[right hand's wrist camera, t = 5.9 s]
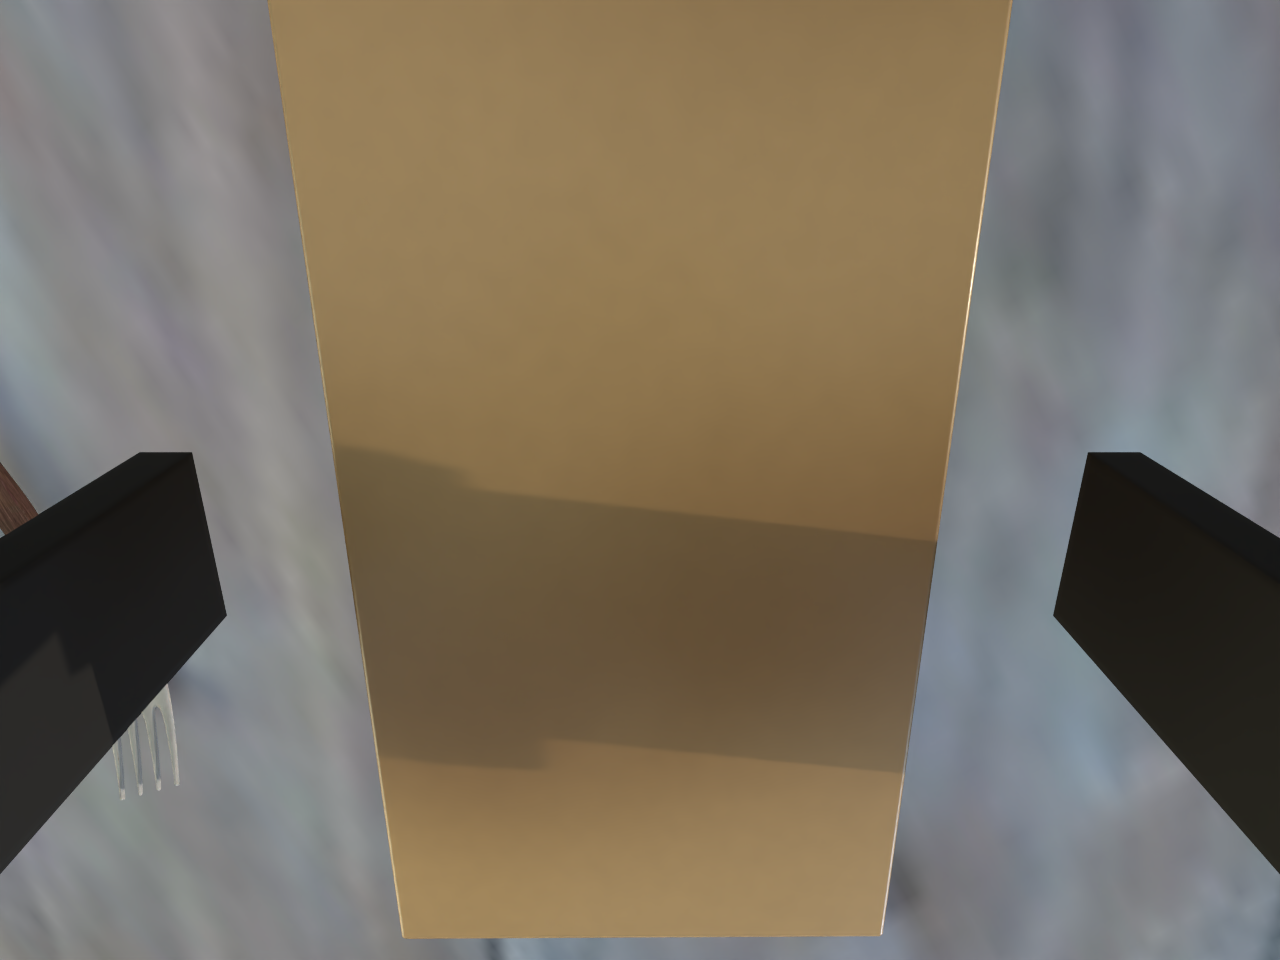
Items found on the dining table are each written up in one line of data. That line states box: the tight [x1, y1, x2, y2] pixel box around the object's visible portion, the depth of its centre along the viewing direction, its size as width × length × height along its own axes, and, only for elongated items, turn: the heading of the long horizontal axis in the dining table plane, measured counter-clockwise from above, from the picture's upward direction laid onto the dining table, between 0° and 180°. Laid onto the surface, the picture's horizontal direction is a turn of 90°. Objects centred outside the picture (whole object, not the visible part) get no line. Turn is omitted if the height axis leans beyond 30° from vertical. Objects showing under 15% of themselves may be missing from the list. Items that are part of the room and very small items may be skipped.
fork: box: [0, 463, 179, 800], centre depth 27 cm, size 3×16×2 cm, turn 17°
